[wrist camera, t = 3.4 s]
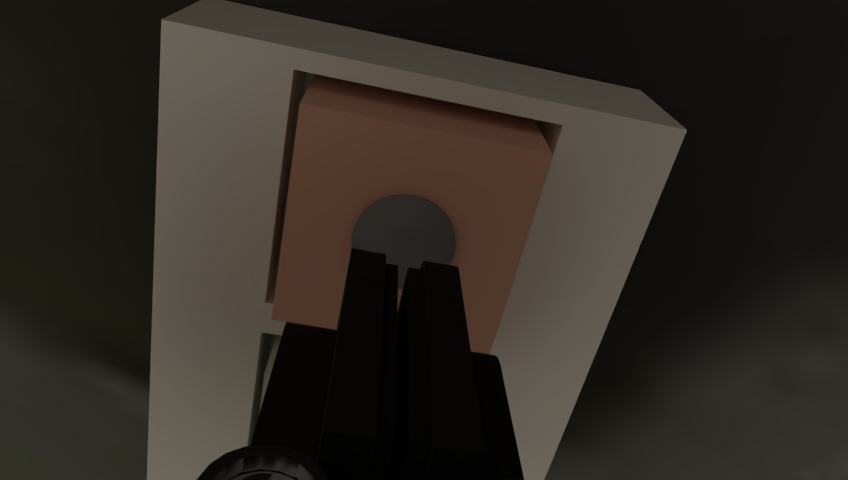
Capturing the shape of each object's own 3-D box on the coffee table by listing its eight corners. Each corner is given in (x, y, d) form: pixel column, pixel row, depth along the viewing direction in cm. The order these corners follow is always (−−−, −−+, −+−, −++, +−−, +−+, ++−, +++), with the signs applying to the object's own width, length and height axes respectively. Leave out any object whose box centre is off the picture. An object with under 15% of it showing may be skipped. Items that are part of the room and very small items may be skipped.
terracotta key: (532, 115, 14) (554, 155, 12) (478, 295, 16) (489, 358, 14) (317, 71, 14) (298, 105, 11) (290, 262, 16) (270, 322, 14)
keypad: (640, 89, 16) (687, 129, 13) (460, 581, 24) (466, 669, 21) (207, -4, 14) (161, 18, 12) (174, 545, 23) (142, 632, 20)
